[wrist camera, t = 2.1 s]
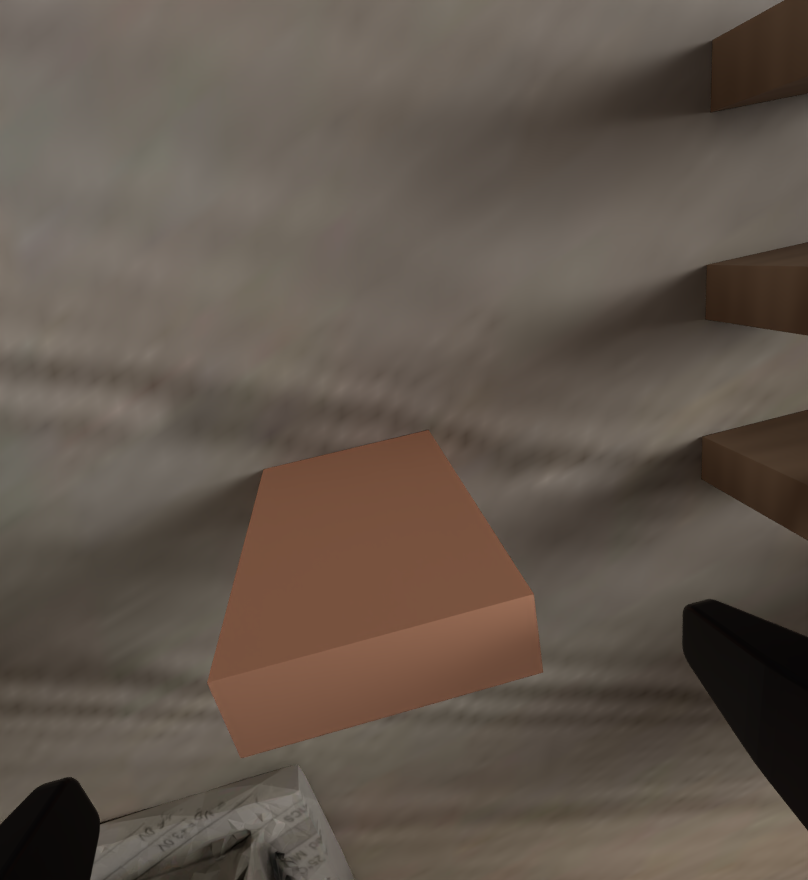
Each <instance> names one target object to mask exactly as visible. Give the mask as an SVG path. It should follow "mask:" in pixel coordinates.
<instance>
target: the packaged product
mask: <svg viewBox="0 0 808 880" xmlns="http://www.w3.org/2000/svg"><path fill="white" fill-rule="evenodd" d="M90 880H355V879H354V877H353V874H352V872H351V870H350V867H349V865H348V863H347V861H346V859H345V856H344V854H343V851H342V849H341V847H340V845H339V843H338V841H337V839H336V837H335V835H334V833H333V831H332V829H331V827H330V825H329V823H328V821H327V819H326V817H325V815H324V813H323V811H322V809H321V807H320V805H319V803H318V800H317V798H316V796H315V794H314V792H313V790H312V788H311V786H310V784H309V782H308V780H307V778H306V776H305V774H304V773H303V771H302V770H301V768H300V767H299V765H293V766H289V767H285V768H281V769H278V770H275V771H271V772H268V773H265V774H262V775H258V776H255V777H252V778H248V779H245V780H242V781H239V782H235V783H232V784H229V785H225V786H222V787H219V788H216V789H212V790H209V791H207V792H203V793H199V794H196V795H192V796H189V797H186V798H182V799H179V800H175V801H172V802H168V803H165V804H162V805H159V806H156V807H153V808H150V809H147V810H143V811H140V812H137V813H134V814H131V815H128V816H125V817H122V818H119V819H115V820H112V821H109V822H106V823H103V824H100V834H99V839H98V844H97V849H96V854H95V859H94V864H93V869H92V874H91V879H90Z"/></svg>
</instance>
